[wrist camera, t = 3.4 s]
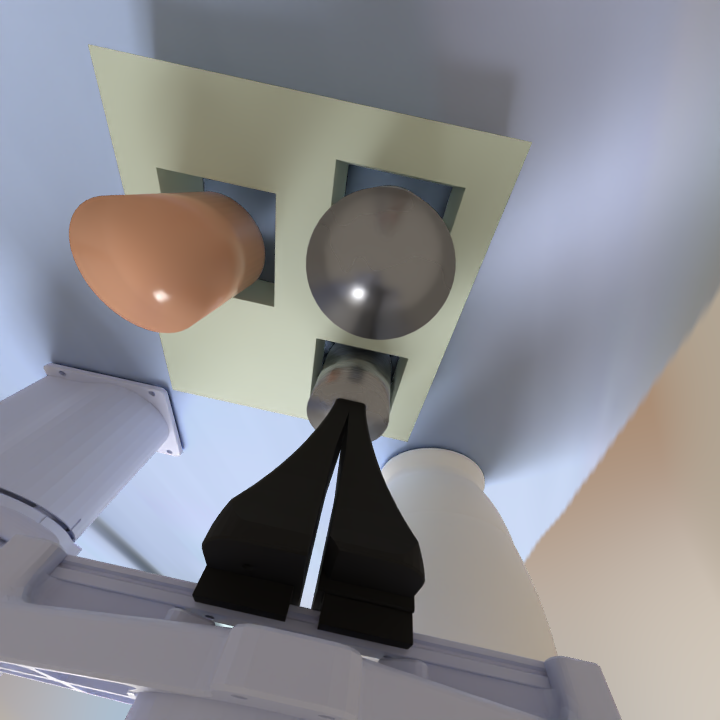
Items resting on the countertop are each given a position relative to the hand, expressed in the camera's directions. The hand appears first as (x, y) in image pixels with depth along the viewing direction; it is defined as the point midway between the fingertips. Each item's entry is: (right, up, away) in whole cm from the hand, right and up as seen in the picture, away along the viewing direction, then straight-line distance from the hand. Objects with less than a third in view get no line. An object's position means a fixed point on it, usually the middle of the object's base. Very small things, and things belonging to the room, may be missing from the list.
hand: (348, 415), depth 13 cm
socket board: (-2, +7, +2) cm, 8 cm away
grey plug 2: (+1, +2, +4) cm, 4 cm away
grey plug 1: (+2, +7, -2) cm, 8 cm away
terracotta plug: (-5, +8, -1) cm, 10 cm away
